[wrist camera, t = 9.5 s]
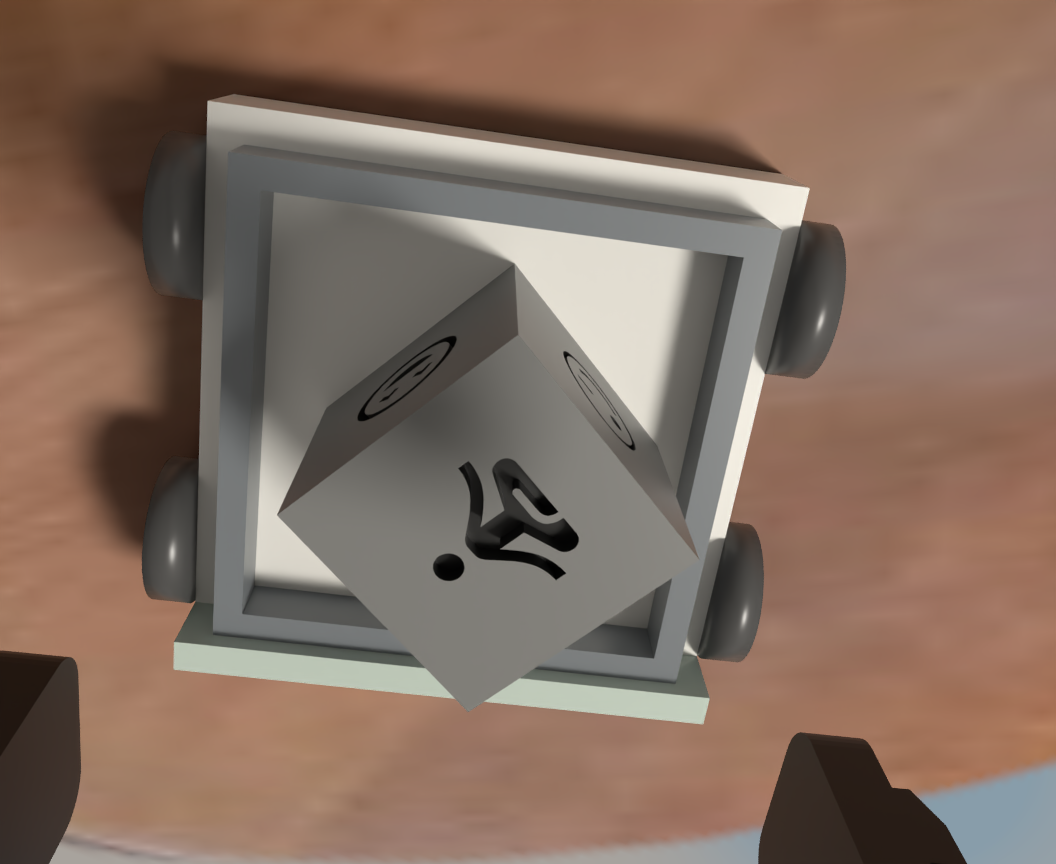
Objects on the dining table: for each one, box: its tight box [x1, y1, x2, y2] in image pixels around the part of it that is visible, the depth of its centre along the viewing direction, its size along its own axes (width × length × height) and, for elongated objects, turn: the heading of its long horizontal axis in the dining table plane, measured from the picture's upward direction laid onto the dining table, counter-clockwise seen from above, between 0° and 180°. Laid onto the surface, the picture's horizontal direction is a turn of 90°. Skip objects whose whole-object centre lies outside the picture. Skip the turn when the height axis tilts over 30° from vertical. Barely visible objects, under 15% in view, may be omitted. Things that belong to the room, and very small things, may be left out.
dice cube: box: [277, 264, 699, 712], centre depth 19 cm, size 5×5×5 cm
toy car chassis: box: [142, 94, 846, 724], centre depth 22 cm, size 12×13×4 cm
